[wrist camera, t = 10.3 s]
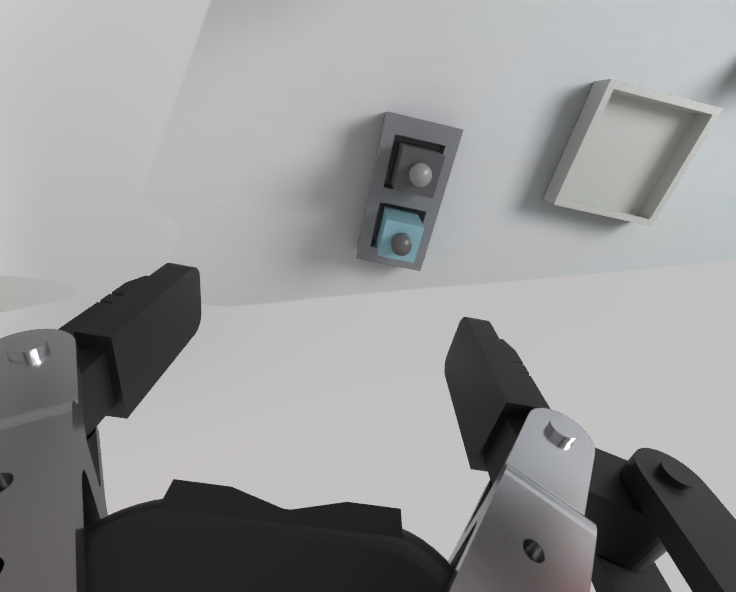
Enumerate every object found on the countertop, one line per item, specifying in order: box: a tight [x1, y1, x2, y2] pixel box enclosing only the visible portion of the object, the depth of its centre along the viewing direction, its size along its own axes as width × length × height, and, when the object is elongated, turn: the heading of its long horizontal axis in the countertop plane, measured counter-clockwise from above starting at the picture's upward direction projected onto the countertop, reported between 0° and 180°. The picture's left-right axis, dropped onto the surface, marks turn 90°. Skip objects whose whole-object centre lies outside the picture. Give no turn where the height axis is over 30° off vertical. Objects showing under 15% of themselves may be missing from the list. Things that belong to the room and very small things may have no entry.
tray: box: [543, 79, 723, 226], centre depth 38 cm, size 12×12×3 cm
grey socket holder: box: [357, 112, 463, 271], centre depth 40 cm, size 16×8×4 cm, turn 168°
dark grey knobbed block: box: [390, 141, 445, 199], centre depth 35 cm, size 4×4×8 cm
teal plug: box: [377, 204, 424, 263], centre depth 38 cm, size 4×4×8 cm
